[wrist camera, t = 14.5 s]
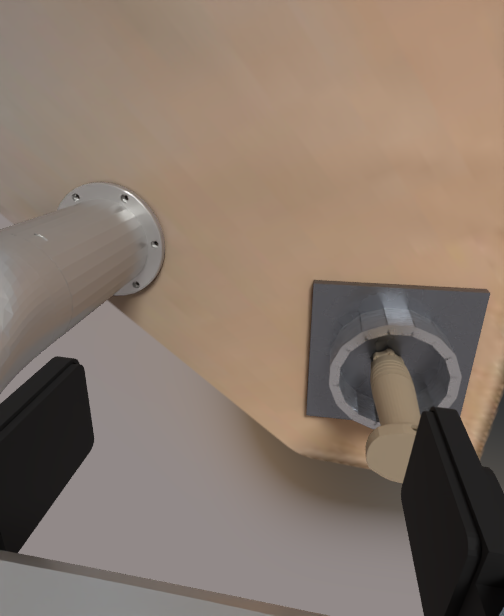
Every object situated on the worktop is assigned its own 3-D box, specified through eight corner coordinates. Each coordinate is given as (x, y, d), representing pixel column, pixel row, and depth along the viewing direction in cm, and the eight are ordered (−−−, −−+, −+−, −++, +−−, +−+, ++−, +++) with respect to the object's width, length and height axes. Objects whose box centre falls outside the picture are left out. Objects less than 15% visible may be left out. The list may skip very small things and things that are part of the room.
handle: (409, 384, 46) (443, 491, 33) (351, 373, 47) (360, 474, 33) (422, 346, 44) (463, 444, 31) (361, 335, 45) (374, 426, 31)
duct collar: (306, 409, 51) (304, 437, 47) (314, 280, 44) (311, 298, 40) (454, 425, 49) (466, 456, 44) (486, 289, 41) (505, 310, 37)
